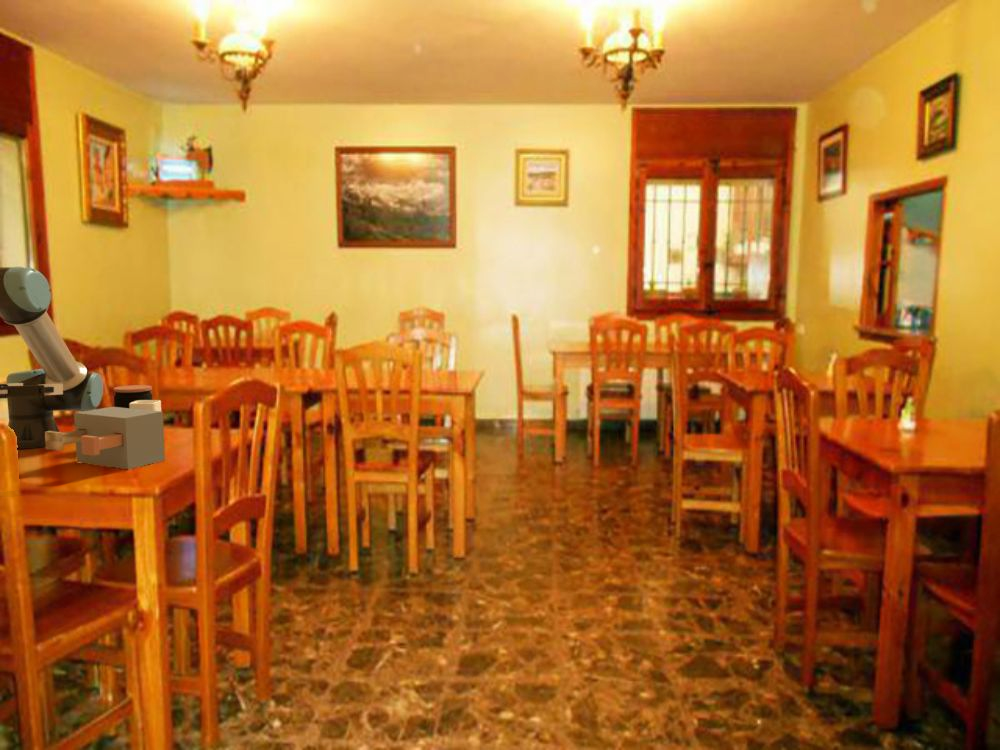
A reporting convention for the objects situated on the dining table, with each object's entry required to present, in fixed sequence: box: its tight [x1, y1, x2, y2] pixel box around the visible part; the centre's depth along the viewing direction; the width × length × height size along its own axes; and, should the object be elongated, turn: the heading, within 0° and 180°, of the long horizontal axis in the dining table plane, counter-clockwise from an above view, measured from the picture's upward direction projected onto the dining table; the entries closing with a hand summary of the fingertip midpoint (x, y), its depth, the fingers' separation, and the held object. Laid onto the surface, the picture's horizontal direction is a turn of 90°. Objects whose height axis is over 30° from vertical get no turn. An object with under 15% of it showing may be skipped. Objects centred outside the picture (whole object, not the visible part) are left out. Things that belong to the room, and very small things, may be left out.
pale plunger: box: [45, 429, 87, 451], centre depth 198 cm, size 5×12×5 cm, turn 156°
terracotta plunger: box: [81, 433, 123, 455], centre depth 193 cm, size 5×12×5 cm, turn 156°
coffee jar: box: [113, 384, 154, 408], centre depth 226 cm, size 11×11×18 cm
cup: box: [129, 399, 162, 411], centre depth 217 cm, size 7×7×15 cm
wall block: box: [73, 406, 166, 470], centre depth 204 cm, size 20×12×14 cm, turn 66°
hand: (41, 388), depth 188 cm, fingers open, 13 cm apart
